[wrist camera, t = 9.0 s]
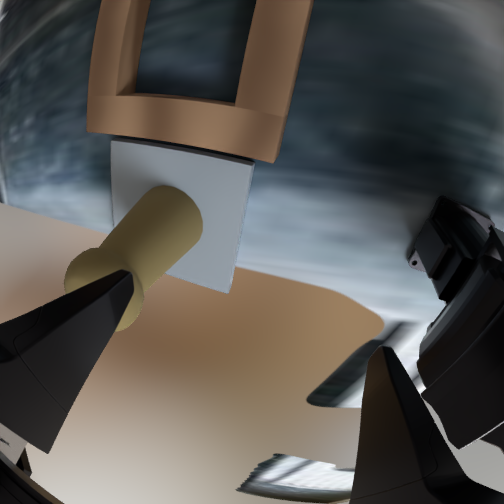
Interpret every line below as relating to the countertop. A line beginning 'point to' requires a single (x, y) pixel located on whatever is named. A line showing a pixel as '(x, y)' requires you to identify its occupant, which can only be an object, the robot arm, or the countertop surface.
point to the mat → (197, 188)
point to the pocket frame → (192, 108)
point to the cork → (142, 245)
